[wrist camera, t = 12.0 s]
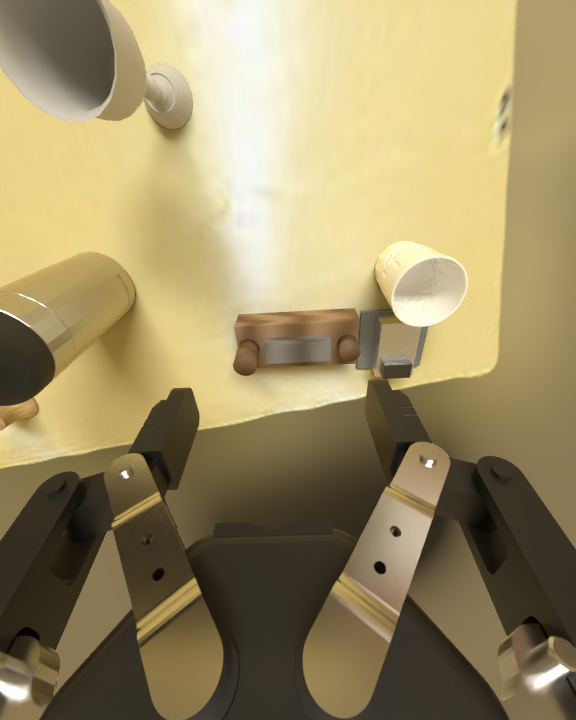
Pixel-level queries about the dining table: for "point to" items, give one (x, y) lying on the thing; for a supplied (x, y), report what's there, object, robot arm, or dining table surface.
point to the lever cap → (394, 347)
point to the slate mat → (368, 338)
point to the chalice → (86, 63)
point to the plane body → (296, 339)
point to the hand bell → (17, 412)
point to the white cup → (420, 283)
